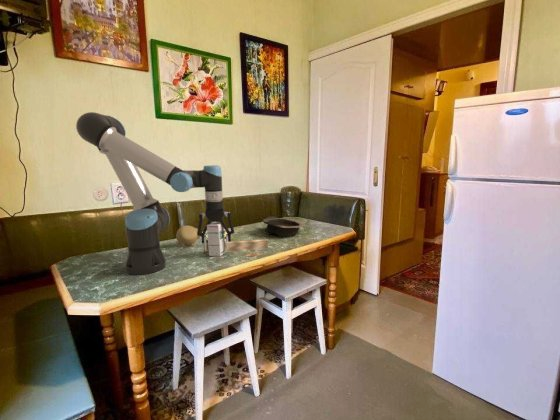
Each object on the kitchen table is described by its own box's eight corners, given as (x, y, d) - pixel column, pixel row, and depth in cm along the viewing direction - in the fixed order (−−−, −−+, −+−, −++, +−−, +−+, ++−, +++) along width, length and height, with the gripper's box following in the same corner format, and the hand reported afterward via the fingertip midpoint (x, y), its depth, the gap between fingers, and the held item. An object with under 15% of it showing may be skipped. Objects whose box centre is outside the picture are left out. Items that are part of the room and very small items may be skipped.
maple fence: (202, 259, 132) (202, 251, 132) (204, 251, 144) (204, 243, 143) (270, 254, 138) (270, 246, 137) (267, 247, 149) (267, 239, 148)
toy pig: (204, 246, 153) (203, 225, 151) (180, 250, 146) (178, 229, 144) (198, 241, 161) (196, 222, 159) (174, 245, 154) (173, 225, 152)
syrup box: (220, 256, 136) (219, 224, 133) (208, 255, 137) (206, 224, 135) (225, 252, 141) (224, 222, 139) (213, 252, 143) (211, 221, 140)
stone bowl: (252, 233, 175) (253, 217, 174) (284, 229, 192) (285, 214, 191) (282, 241, 157) (282, 223, 156) (314, 235, 174) (314, 219, 173)
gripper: (187, 202, 129) (191, 253, 133) (239, 200, 133) (241, 250, 137) (189, 200, 136) (193, 248, 141) (238, 198, 140) (240, 245, 144)
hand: (216, 249), depth 139 cm, fingers open, 9 cm apart
